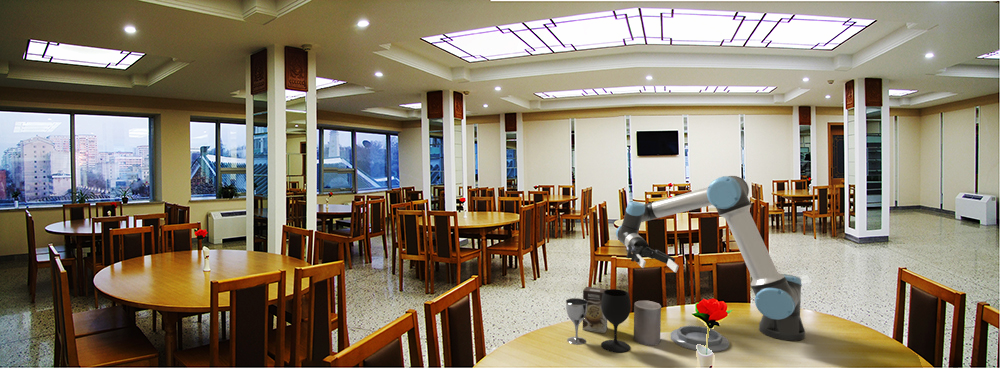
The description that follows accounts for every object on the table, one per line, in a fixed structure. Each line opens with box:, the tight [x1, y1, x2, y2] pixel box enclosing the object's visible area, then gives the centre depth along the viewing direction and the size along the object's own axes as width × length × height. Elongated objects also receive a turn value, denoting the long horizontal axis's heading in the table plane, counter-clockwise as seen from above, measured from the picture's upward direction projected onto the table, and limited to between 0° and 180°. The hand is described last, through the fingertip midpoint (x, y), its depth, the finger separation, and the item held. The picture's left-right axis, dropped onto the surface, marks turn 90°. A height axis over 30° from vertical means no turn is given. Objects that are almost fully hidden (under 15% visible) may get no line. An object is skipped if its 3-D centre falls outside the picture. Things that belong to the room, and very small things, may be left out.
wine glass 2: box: [600, 288, 632, 354], centre depth 162 cm, size 10×10×20 cm
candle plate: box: [670, 324, 730, 353], centre depth 168 cm, size 20×20×3 cm
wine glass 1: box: [565, 297, 588, 346], centre depth 168 cm, size 8×8×15 cm
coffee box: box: [582, 286, 608, 334], centre depth 179 cm, size 9×6×16 cm
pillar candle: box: [633, 300, 662, 346], centre depth 168 cm, size 10×10×15 cm
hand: (660, 267), depth 169 cm, fingers open, 13 cm apart
